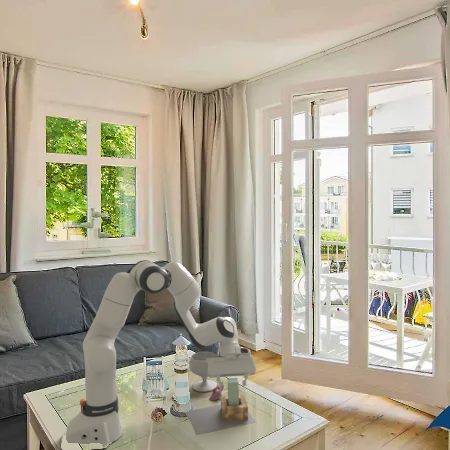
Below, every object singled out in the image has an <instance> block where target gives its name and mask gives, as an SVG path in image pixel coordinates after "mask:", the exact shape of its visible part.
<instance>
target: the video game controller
mask: <svg viewBox="0 0 450 450" xmlns="http://www.w3.org/2000/svg"><path fill="white" fill-rule="evenodd" d="M217 385H218V386H217V387H215V388H214V389H213V390H212V391H211V392H212V393H213V394H212V395H211V396H209V398H208V400H210V401H218V400H219V399H220V398H221V397H223V394H222V393H223V392H222V391H223V390H224V388H225V384H223V387H222V388H220V385H219V384H217Z"/></svg>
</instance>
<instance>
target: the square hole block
mask: <svg viewBox="0 0 450 450" xmlns="http://www.w3.org/2000/svg"><path fill="white" fill-rule="evenodd" d="M220 405H221V411H222V418H223V421H233V420H245V419H248V412H249V406H248V403H247V400H246V396H245V394H242V395H241V394H239V405H234V406H228V395H227V396H225V395H224V396H222V397H221V396H220Z"/></svg>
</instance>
